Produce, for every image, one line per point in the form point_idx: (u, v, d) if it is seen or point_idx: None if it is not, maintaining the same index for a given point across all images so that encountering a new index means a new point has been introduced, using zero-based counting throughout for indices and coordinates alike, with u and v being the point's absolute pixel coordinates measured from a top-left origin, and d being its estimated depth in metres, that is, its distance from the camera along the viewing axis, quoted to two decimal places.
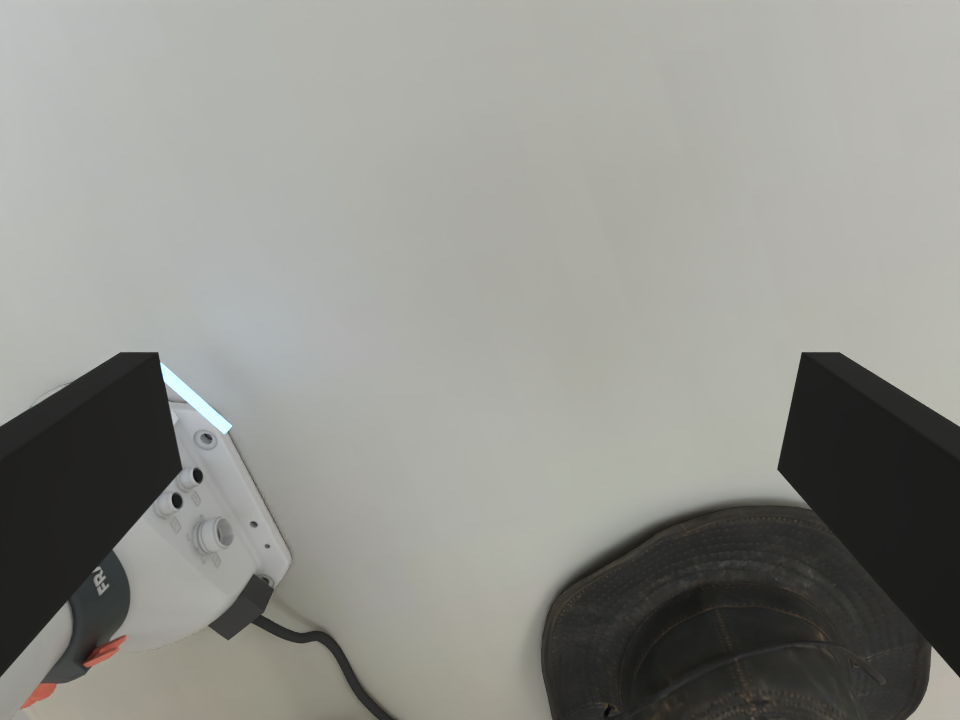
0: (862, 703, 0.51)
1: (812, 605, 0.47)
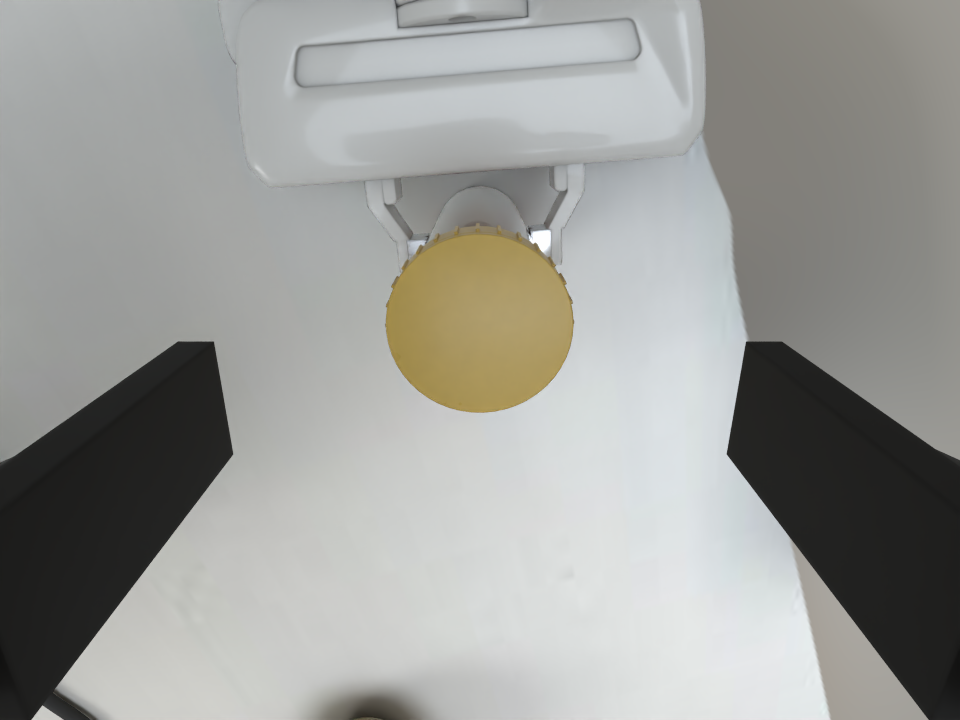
0: None
1: None
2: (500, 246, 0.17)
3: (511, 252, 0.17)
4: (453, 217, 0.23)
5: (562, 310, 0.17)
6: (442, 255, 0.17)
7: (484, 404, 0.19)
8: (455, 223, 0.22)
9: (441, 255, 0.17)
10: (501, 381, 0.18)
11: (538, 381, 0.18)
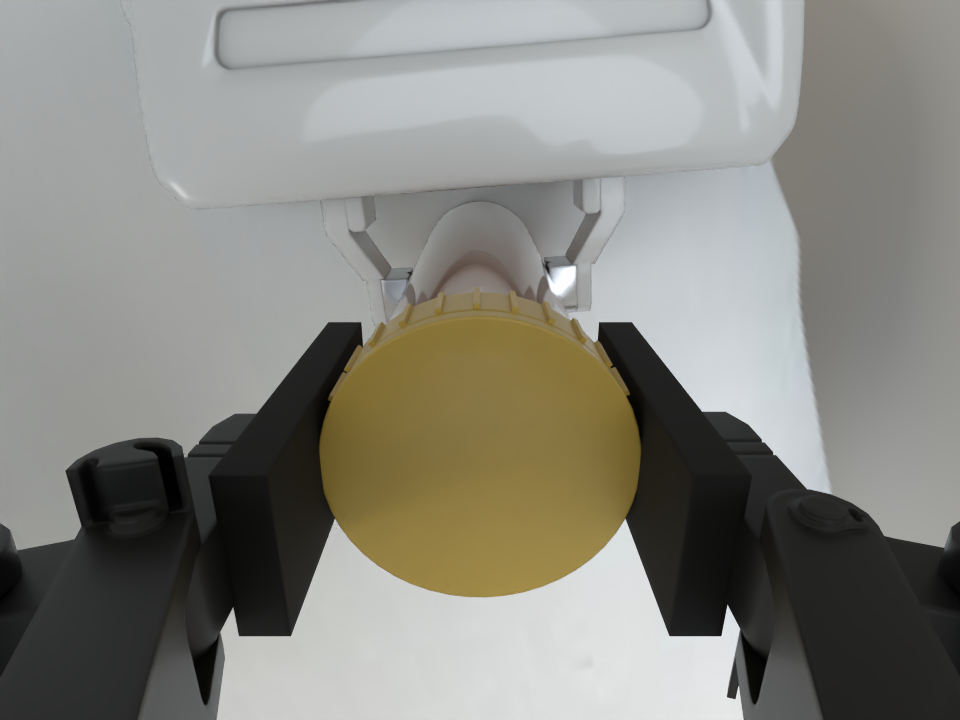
0: None
1: None
2: (517, 337, 0.09)
3: (536, 347, 0.09)
4: (441, 257, 0.16)
5: (624, 442, 0.10)
6: (413, 352, 0.09)
7: (488, 585, 0.11)
8: (443, 271, 0.14)
9: (412, 352, 0.09)
10: (516, 551, 0.11)
11: (579, 551, 0.11)
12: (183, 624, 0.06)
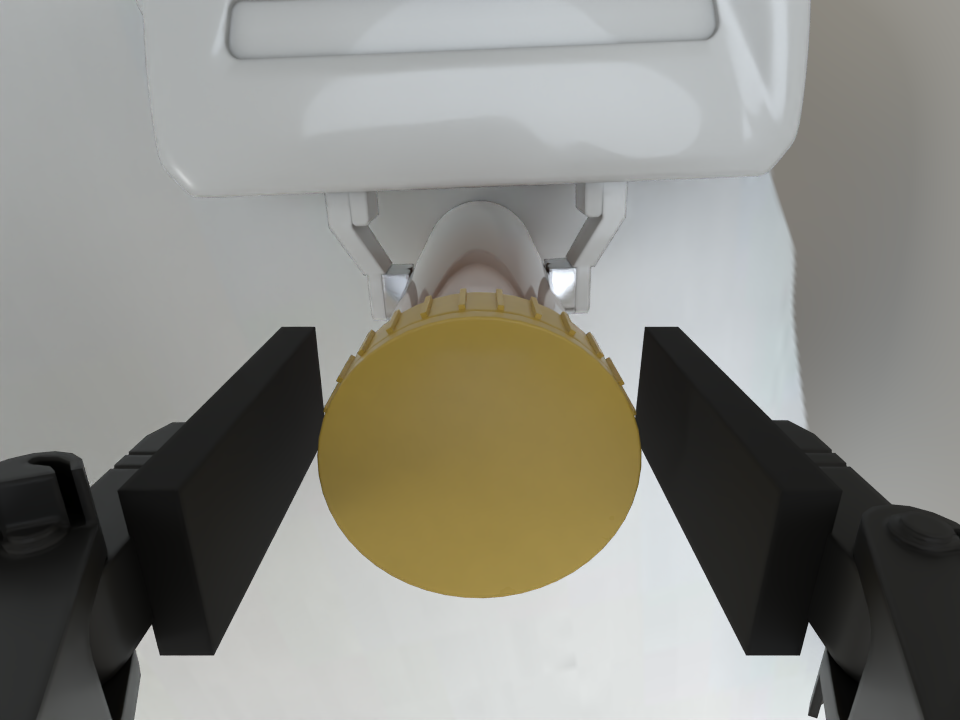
0: None
1: None
2: (339, 423, 0.10)
3: (350, 408, 0.10)
4: (444, 254, 0.16)
5: (466, 335, 0.09)
6: (348, 507, 0.10)
7: (622, 481, 0.10)
8: (446, 268, 0.14)
9: (348, 508, 0.10)
10: (584, 450, 0.10)
11: (599, 389, 0.10)
12: (86, 642, 0.06)
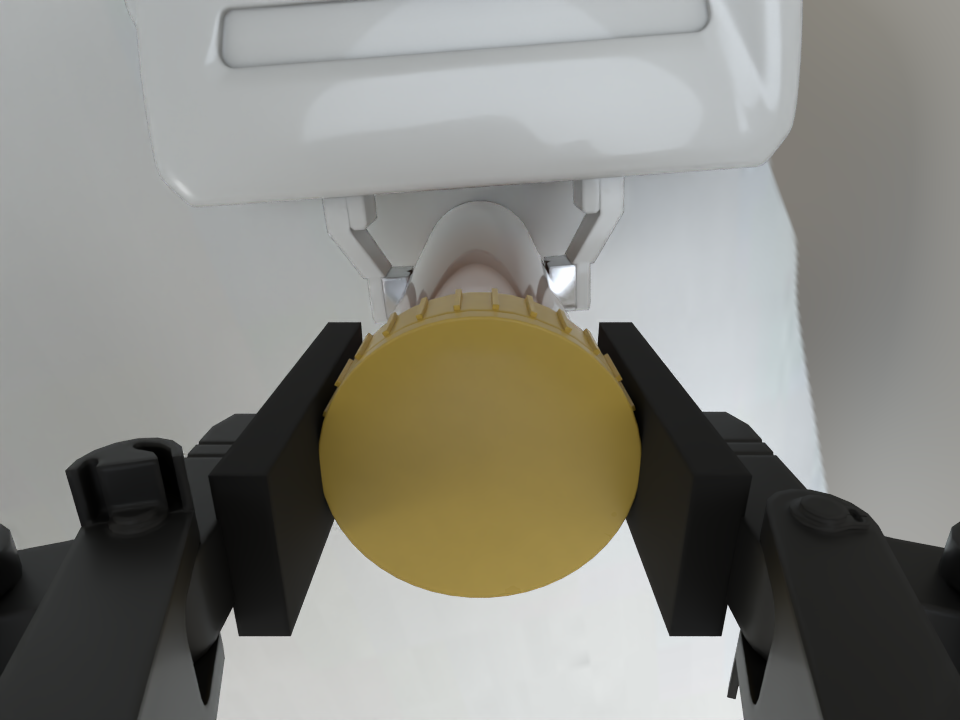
0: None
1: None
2: (339, 427, 0.10)
3: (349, 412, 0.10)
4: (442, 255, 0.16)
5: (461, 335, 0.09)
6: (351, 510, 0.11)
7: (624, 477, 0.10)
8: (443, 269, 0.14)
9: (351, 511, 0.11)
10: (584, 447, 0.10)
11: (596, 386, 0.10)
12: (183, 624, 0.06)
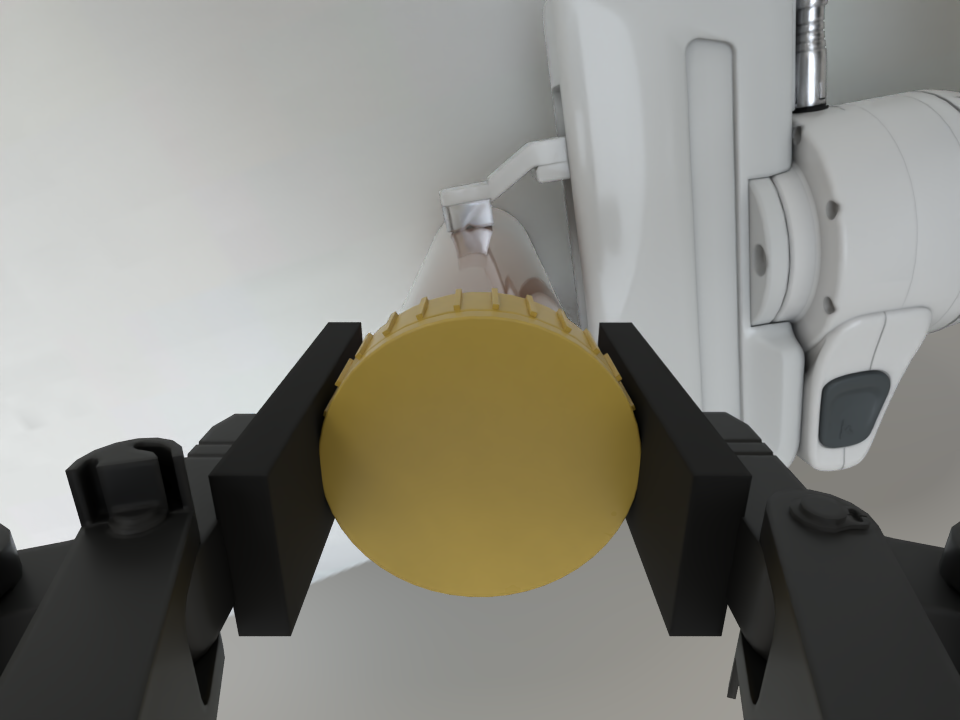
0: None
1: None
2: (339, 426, 0.10)
3: (349, 411, 0.10)
4: None
5: (461, 335, 0.09)
6: (351, 509, 0.11)
7: (623, 476, 0.10)
8: None
9: (351, 511, 0.11)
10: (584, 446, 0.10)
11: (596, 385, 0.10)
12: (183, 624, 0.06)
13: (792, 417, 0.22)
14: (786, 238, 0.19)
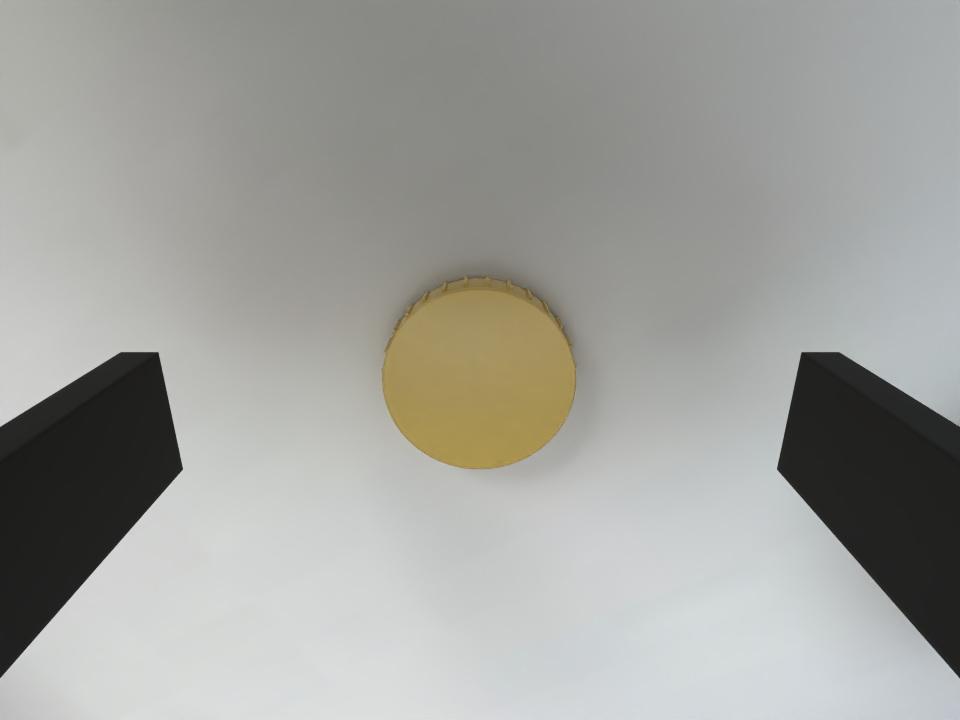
0: None
1: None
2: (395, 356, 0.17)
3: (402, 346, 0.17)
4: None
5: (468, 300, 0.16)
6: (401, 409, 0.17)
7: (565, 387, 0.17)
8: None
9: (401, 410, 0.17)
10: (541, 368, 0.17)
11: (546, 330, 0.17)
12: None
13: None
14: None
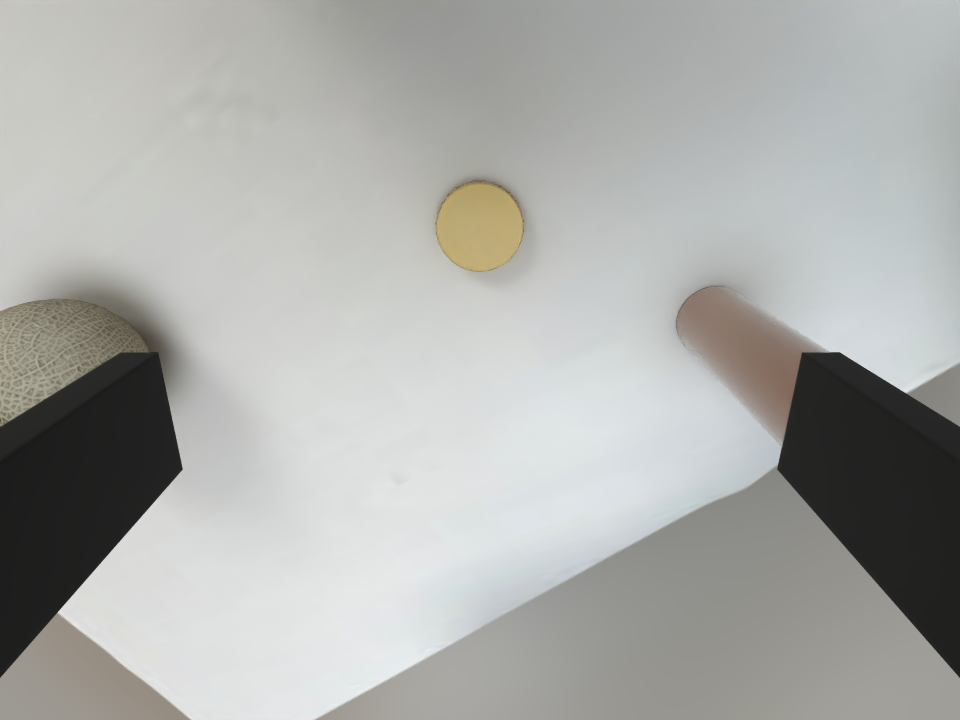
0: None
1: None
2: (442, 215, 0.38)
3: (445, 210, 0.38)
4: None
5: (474, 188, 0.37)
6: (444, 241, 0.38)
7: (518, 230, 0.38)
8: None
9: (444, 241, 0.38)
10: (507, 221, 0.38)
11: (509, 202, 0.37)
12: None
13: None
14: None
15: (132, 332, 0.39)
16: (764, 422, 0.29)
